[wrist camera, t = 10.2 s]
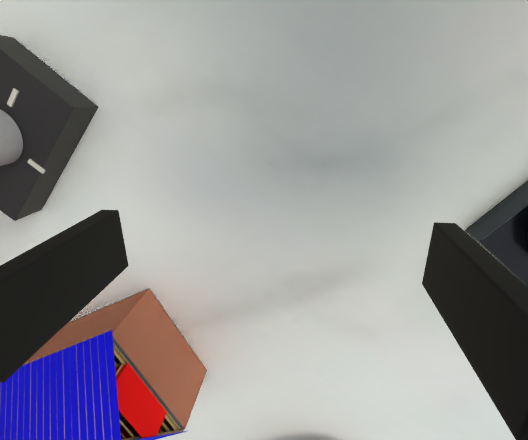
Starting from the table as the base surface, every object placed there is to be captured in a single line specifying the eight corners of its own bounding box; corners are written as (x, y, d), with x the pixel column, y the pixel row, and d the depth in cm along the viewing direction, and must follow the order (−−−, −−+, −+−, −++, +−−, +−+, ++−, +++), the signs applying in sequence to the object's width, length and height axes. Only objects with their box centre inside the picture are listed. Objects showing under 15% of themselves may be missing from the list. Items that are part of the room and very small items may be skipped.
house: (16, 342, 37) (-103, 442, 27) (149, 284, 32) (68, 381, 21) (79, 413, 40) (-5, 528, 30) (210, 371, 35) (167, 494, 24)
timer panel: (9, 34, 25) (-30, 26, 22) (101, 109, 26) (75, 110, 23) (-37, 152, 29) (-75, 158, 26) (44, 211, 30) (16, 224, 27)
